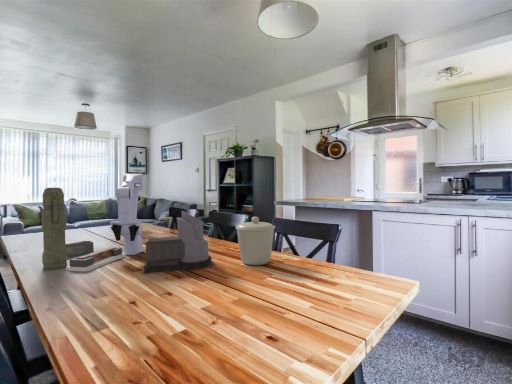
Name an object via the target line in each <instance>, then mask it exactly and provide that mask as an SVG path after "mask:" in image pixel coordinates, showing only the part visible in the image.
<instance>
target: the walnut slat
mask: <svg viewBox="0 0 512 384" xmlns="http://www.w3.org/2000/svg"><path fill="white" fill-rule="evenodd" d="M116 248H117V247H115V246H113V247H106V249H105V248H103V250H102V249H100V250H97V251H94V252H93V253H90V254H86V255H80V256H77V257H78V259H81V260H84V259H87V258H90V257H93V262H96V261H99V260H102V259H105V258H108V257H110V256H113V250H114V249H116Z"/></svg>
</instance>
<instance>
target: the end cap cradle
mask: <svg viewBox="0 0 512 384" xmlns="http://www.w3.org/2000/svg"><path fill="white" fill-rule="evenodd" d="M106 248H107V247H106ZM106 248H103V249H106ZM103 249H101V250H103ZM78 257H79V256H76V257H72V258H71V259H69V265H67V266H66V267H65V271H69V272H70V271H71V272H89V271H91V270H95V269H96V268H99V267H102V266H105V265H107V264H110V263H111V262H115V261H117V260H120V259H123V258H125V257H126V255H125V254H124V253H123V247H116V249H114V250H113V256H110V257H108V258H105V259H102V260H99V261H96V262H93V257H90V258H87V259H84V260H81V259H78Z"/></svg>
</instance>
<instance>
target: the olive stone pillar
mask: <svg viewBox="0 0 512 384" xmlns="http://www.w3.org/2000/svg"><path fill="white" fill-rule="evenodd" d="M64 205H65V194H64V191H63V188H60V187H46V188H44V190H43V192H42V206H43V209H42V214H41V216H40V217H41V220H40V221H41V229H42V235H43V252H42V257H41V259H42V262H41V263H42V265H43V266H42V269H43V270H44V271H52V270H53V271H55V270H60V269H62V268H63V269H64V268H66V267H67V266H68V258H67V250H66V244H67V243H66V227H67V214H66V211H65V206H64Z"/></svg>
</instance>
